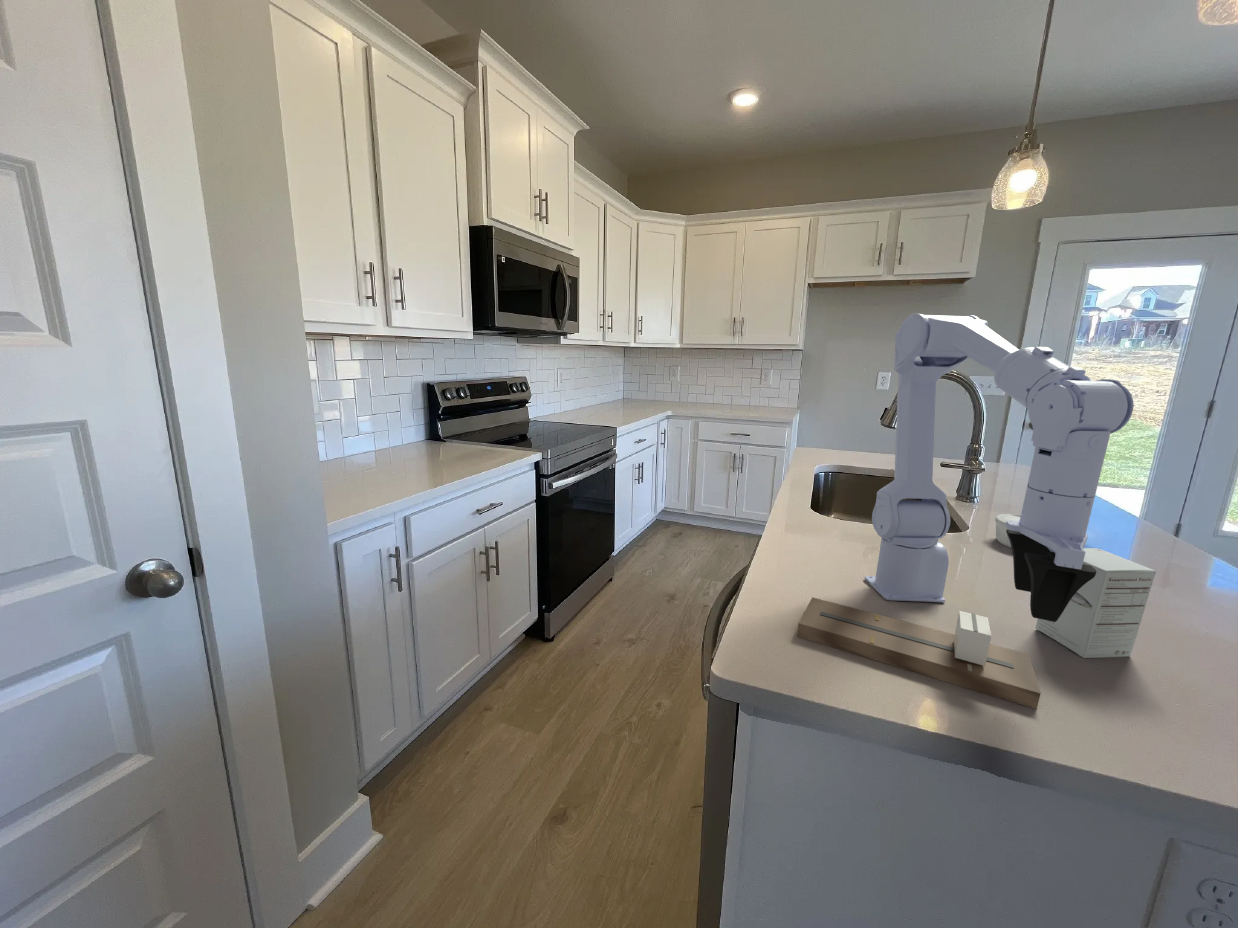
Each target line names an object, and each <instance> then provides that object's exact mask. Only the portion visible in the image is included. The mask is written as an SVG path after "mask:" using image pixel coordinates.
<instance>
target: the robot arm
mask: <svg viewBox="0 0 1238 928" xmlns="http://www.w3.org/2000/svg"><path fill="white" fill-rule="evenodd" d="M988 322H989V321H987V320H985V319H980V317H978V316H976V315H973V314H971V315H970V314H969V315H965V316H962V315H939V314H937V315H935V314H923V313H912V314H910V315H909V316H907V318H905V320H904V321H903V323H902V324H901V326H900V327H899V328H898V330H897V332H896V333H895V337H894V338H895V340H894V341H895V343H894V371H895V372H897V396H896V397H897V398H896V399H897V400H896V422H895V423H896V429H895V450H894V451H895V454H894V455H895V457H894V479H893V480H892V481H891V482H889V483H888V484H886V485H884V486H883V487H882V488H880V489H879V490H878V491H877V492H876V500H875V504H874V507H873V510H872V515H871V521H872V526H873V529H874V531H875V532H876V533H877V536H879V537H880V538H881V541H880V546H879V553H878V560H877V566H876V571H875V576H874V575H873V576H872V575H866V576H864V580H865V581H866V582H867V583H868V584H869V585H870V586H871V587H872V588H873V589H874V590H875V591H876V592H877V593H878V594H879V595H880V596H882V597H881V598H883V599H884V600H887V601H903V602H904V601H905V602H927V603H930V602H931V603H945V602H946V598H944V593H945V586H946V581H947V574H948V570H949V565H950V564H949V563H950V560H949V558H950V557H949V554H948V551H947V548H946V547H945V545H944V544H943V543H941V541H938V540H939V539H942V538H944V537H945V536H946V535H947V533H948V531H949V529H950V526H951V516H950V512H949V510H948V506H947V494H946V493H945V492H944V491H943V490H942V489H941V488H939V486H937V485H936V484H935V483H934V482H933V476H934V474H933V472H934V446H935V445H934V444H935V424H936V423H935V420H936V417H935V416H936V393H937V382H938V381H939V380H940V379H941V377H943V376H944V375H946V374H949V373H951V372H953V371H955V369H956V368H958V367H959V366H961V365H962V364H963V363H965V362H967V361H968V360H969V359H970V360H972V361H974V362H976V363H977V364H980V365H981V366H983V367H984V368H986V369H987V370H990V371H992V372H993V373H994V377H993V379H994V384H995V386H996V387H997V388H998V389H999V390H1001V391H1003V392H1004V393H1005V394H1007V396H1009V397H1011V398H1012V399H1014V401H1016V402H1017V403H1018V404H1021V405H1022V406H1023V407H1025V408H1026V409H1027V413H1028V419H1029V422H1030V424H1031V427H1032V435H1031V439H1030V440H1031V442H1032V445H1033V447H1034V453H1033V458H1032V463H1031V466H1030V470H1029V471H1030V472H1029V476H1028V479H1027V485H1026V490H1025V494H1024V499H1023V503H1022V508H1021V513H1020V515H1021V517H1020V520H1019V521H1010V520H1007V521H1006V527H1007V528H1008V529H1007V530H1006V532H1007V535H1008V538H1009V540H1010V544H1011V548H1010V549H1011V553H1012V558H1013V562H1012V563H1013V581H1014V587H1015V590H1018V591H1024V592H1028V593H1029V592H1030V597H1029V598H1030V599H1029V600H1030V601H1029V602H1030V603H1029V604H1030V605H1029V607H1030V613H1031V614H1030V615H1031V617H1032V618H1033V619H1037V620H1038V619H1043V620H1048V621H1052V622H1056V621H1057V620H1058V619H1059V617H1060V616H1061V614H1062V613H1063V611H1064V609H1065V608H1066V606H1067V605H1068V603H1069V601H1070V600H1071V598H1072V597H1073V596H1074V594H1075V593H1076V592H1077V591H1078V590H1079V589H1080V588H1081V587H1082V586H1083V585H1084V584H1086V583H1087V582H1088V581H1090V580H1091V579H1093V578H1094V577H1095V575H1096V572H1097V571H1096V570H1095V569H1094V568H1093V567H1092V566H1090V565H1084V564H1083V561H1084V557H1085V551H1084V550H1083V548H1085V546H1086V543H1087V541H1088V537H1089V536H1088V534H1087V531H1088V527H1089V522H1090V517H1091V515H1092V514H1091V513H1092V511H1093V506H1094V502H1095V499H1096V493H1097V489H1098V486H1099V481H1100V477H1101V474H1102V469H1103V464H1104V462H1105V461H1104V460H1105V456H1106V453H1107V448H1108V445H1109V441H1110V436H1111V434H1114V433H1116V432H1118V431H1120V430H1121V429H1122V428H1124V427H1125V426H1126V425H1127V424H1128V423H1129V421H1130V419H1131V417H1132V414H1133V412H1134V407H1135V406H1134V405H1135V404H1134V399H1133V395H1132V393H1131V392H1130V391H1129V389H1128V388H1127V387H1126V386H1125V385H1123V384H1122V383H1121V382H1120V381H1119V380H1116V379H1113V378H1112V379H1110V378H1109V379H1107V378H1102V379H1097V380H1093V379H1090V377H1089V376H1088V375H1086V370H1085V369H1083V368H1081V367H1080V366H1070V365H1068V364H1066V363H1065V362H1063V361H1061V360H1059V359H1058V358H1056V357H1054V356H1053V355H1054V353H1055V351H1054V350H1053V349H1052V348H1050V347H1048V346H1035V347H1033V346H1032V347H1031V346H1030V347H1024V348H1020V349H1019V348H1017V347H1016V346H1015V345H1013V344H1012V343H1010V341H1008V340H1006V339H1005V338H1003V337H1002V336H1001V335H999V334H998V333H996V332H995V331H994V330H993V329H991V328H990V327H989V323H988ZM906 499H908V500H906ZM909 499H910V500H909ZM911 499H912V500H911ZM913 499H919V500H913ZM920 499H921V500H920Z"/></svg>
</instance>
